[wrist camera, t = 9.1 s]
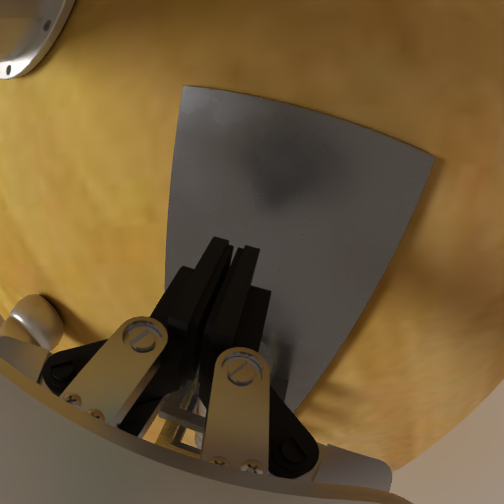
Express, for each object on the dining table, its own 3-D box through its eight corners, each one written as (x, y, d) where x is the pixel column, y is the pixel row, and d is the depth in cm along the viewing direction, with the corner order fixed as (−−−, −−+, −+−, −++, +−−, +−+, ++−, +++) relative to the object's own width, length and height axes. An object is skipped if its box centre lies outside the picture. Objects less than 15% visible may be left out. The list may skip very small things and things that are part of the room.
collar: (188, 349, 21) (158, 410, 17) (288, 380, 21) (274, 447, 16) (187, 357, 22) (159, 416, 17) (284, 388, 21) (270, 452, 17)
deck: (193, 85, 13) (183, 85, 12) (427, 152, 12) (435, 157, 11) (172, 400, 30) (168, 408, 29) (272, 432, 29) (270, 441, 28)
